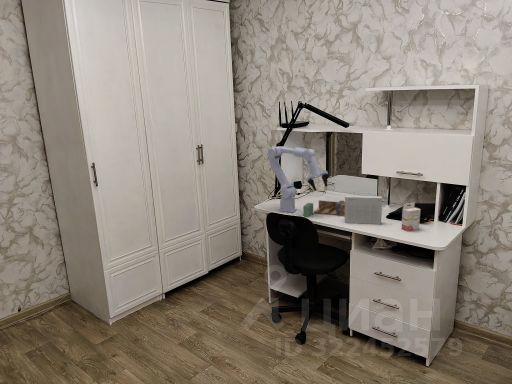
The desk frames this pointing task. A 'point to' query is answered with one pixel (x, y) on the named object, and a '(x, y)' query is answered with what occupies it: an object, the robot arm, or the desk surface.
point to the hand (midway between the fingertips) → (320, 188)
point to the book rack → (331, 208)
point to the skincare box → (363, 209)
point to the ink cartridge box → (410, 217)
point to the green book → (308, 210)
